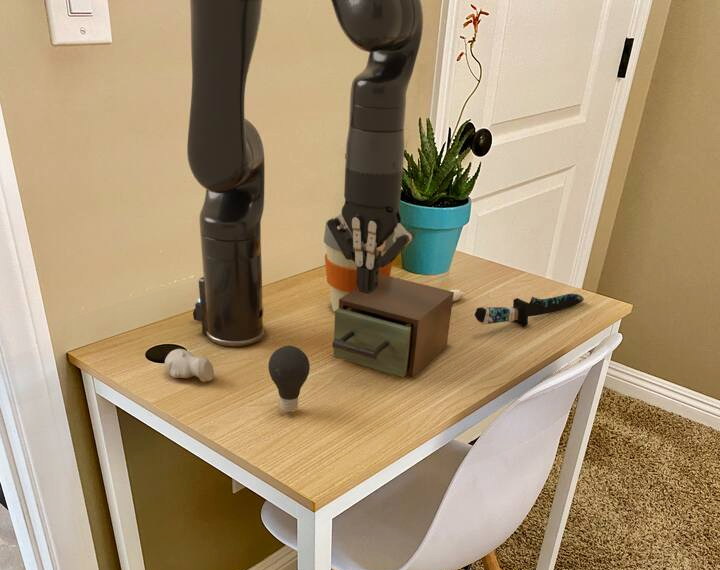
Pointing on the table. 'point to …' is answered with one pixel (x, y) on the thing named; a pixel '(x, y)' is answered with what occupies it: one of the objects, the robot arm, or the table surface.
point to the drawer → (372, 340)
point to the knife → (526, 309)
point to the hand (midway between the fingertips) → (366, 291)
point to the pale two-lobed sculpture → (188, 365)
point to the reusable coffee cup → (344, 268)
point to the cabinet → (409, 314)
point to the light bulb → (289, 374)
